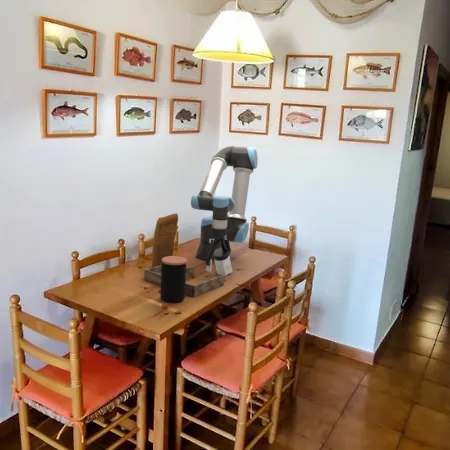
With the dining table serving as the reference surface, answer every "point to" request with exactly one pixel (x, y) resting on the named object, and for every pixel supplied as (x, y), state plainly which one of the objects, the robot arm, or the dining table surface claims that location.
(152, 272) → the lane organizer
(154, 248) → the pancake mix bag
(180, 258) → the coffee jar
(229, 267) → the jar
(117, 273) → the dining table surface
